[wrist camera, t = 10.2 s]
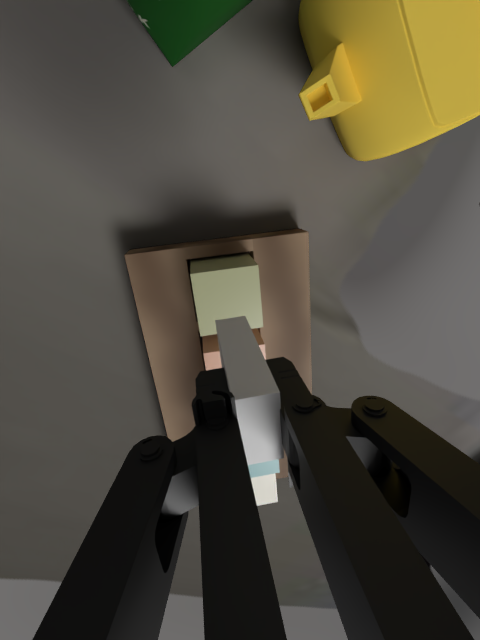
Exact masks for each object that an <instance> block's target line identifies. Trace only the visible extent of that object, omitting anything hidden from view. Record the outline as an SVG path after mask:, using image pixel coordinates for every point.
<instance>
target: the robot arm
mask: <svg viewBox="0 0 480 640" xmlns="http://www.w3.org/2000/svg"><path fill="white" fill-rule="evenodd" d="M215 323H216V330H217V337H218V344H219V351H220V358H221V365H222V368H218V369H212V370H206V371H200V373H199V374H198V376H197V377H196V397H195V398H194V399H193V401H192V410H193V416H194V421H195V427H194V428H193V430H192V431H191V432H190V433H188V434H187V435H186V436H184V437H182V438H180V439H178V440H175V441H173V442H172V441H171V439H169V438H167V437H166V436H151V437H148V438H146V439H143V440H141V441H140V442H138V443H137V444H136V445H134V446H133V448H132V449H131V450H130V452H129V453H128V455H127V457H126V459H125V461H124V463H123V465H122V467H121V469H120V471H119V473H118V475H117V477H116V479H115V481H114V482H113V484H112V486H111V488H110V490H109V492H108V494H107V496H106V498H105V500H104V502H103V504H102V506H101V508H100V510H99V512H98V514H97V515H96V517H95V519H94V521H93V523H92V525H91V527H90V529H89V531H88V533H87V535H86V537H85V539H84V541H83V543H82V545H81V547H80V548H79V550H78V552H77V554H76V556H75V558H74V560H73V562H72V564H71V566H70V568H69V570H68V572H67V574H66V576H65V578H64V580H63V581H62V583H61V586H60V587H59V589H58V591H57V593H56V595H55V597H54V599H53V601H52V603H51V605H50V607H49V609H48V611H47V613H46V615H45V616H44V618H43V621H42V622H41V624H40V627H39V628H38V630H37V632H36V634H35V636H34V638H33V640H158V637H159V633H160V628H161V624H162V620H163V616H164V612H165V608H166V604H167V600H168V596H169V592H170V588H171V583H172V579H173V575H174V571H175V567H176V563H177V559H178V555H179V551H180V547H181V543H182V538H183V534H184V530H185V526H186V522H187V518H188V510H190V509H192V508H194V507H196V506H198V505H199V517H200V541H201V565H202V588H203V609H204V610H203V612H204V635H205V640H287V638H286V634H285V630H284V625H283V620H282V616H281V612H280V607H279V602H278V598H277V594H276V589H275V585H274V580H273V576H272V571H271V567H270V562H269V558H268V553H267V549H266V544H265V540H264V535H263V531H262V526H261V522H260V518H259V513H258V509H257V504H256V500H255V495H254V491H253V486H252V482H251V477H250V473H249V468H248V465H252V464H257V463H262V462H267V461H272V460H277V459H282V458H284V450H285V453H286V456H287V461H288V478H289V488H290V487H293V485H294V488H295V491H296V494H297V497H298V499H299V502H300V505H301V508H302V511H303V514H304V516H305V519H306V522H307V525H308V528H309V530H310V533H311V536H312V539H313V542H314V545H315V547H316V550H317V553H318V556H319V559H320V561H321V564H322V567H323V570H324V573H325V576H326V578H327V581H328V584H329V587H330V590H331V593H332V595H333V598H334V601H335V604H336V607H337V609H338V612H339V615H340V618H341V621H342V624H343V626H344V629H345V632H346V635H347V638H348V640H474V639H473V637H472V635H471V634H470V632H469V631H468V629H467V628H466V626H465V625H464V623H463V621H462V620H461V618H460V616H459V615H458V613H457V612H456V610H455V609H454V607H453V605H452V604H451V602H450V601H449V599H448V598H447V596H446V594H445V593H444V591H443V590H442V588H441V586H440V585H439V583H438V582H437V580H436V578H435V577H434V575H433V574H432V572H431V571H430V569H429V567H428V566H427V564H426V563H425V561H424V559H423V558H422V556H421V555H420V553H421V554H422V555H423V557H424V558H425V559H426V560H427V561H428V562H429V563H430V564H431V565H432V567H433V568H434V569H435V570H436V571H437V572H438V573H439V574H440V575H441V577H442V578H444V580H445V581H446V582H447V583H448V584H449V585H450V586H451V588H452V589H453V590H454V591H455V592H456V593H457V594H458V595H459V596H460V598H461V599H462V600H463V601H464V602H465V603H466V604H467V605H468V606H469V607H470V609H471V610H472V611H473V612H474V613H475V614H476V615H477V616H478V617H479V619H480V464H478V463H477V462H476V461H474V460H473V459H471V458H470V457H468V456H467V455H466V454H464V453H463V452H461V451H460V450H458V449H457V448H456V447H454V446H453V445H451V444H450V443H448V442H447V441H446V440H444V439H443V438H441V437H440V436H438V435H437V434H436V433H434V432H433V431H431V430H430V429H429V428H427V427H426V426H424V425H423V424H421V423H420V422H419V421H417V420H416V419H414V418H413V417H411V416H410V415H409V414H407V413H406V412H404V411H403V410H401V409H400V408H399V407H397V406H396V405H394V404H393V403H392V402H390V401H388V400H386V399H384V398H381V397H377V396H363V397H359V398H357V399H356V400H354V402H353V403H352V407H351V409H350V408H334V407H329V406H326V404H325V403H324V402H323V401H322V400H321V399H320V398H318V397H316V396H314V395H312V394H311V393H310V391H309V389H308V388H307V386H306V384H305V383H304V381H303V379H302V378H301V376H300V374H299V373H298V371H297V370H296V368H295V366H294V364H293V363H292V362H291V361H290V360H288V359H287V358H285V357H278V358H272V359H266V360H265V358H264V356H263V354H262V352H261V349H260V347H259V345H258V343H257V341H256V338H255V336H254V334H253V332H252V330H251V327H250V325H249V323H248V321H247V319H246V316H240V317H234V318H227V319H220V320H215ZM292 482H293V485H292ZM418 551H419V552H420V553H419V552H418Z"/></svg>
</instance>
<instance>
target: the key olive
mask: <svg viewBox="0 0 480 640" xmlns="http://www.w3.org/2000/svg"><path fill="white" fill-rule="evenodd" d="M190 276H191V282H192V288H193V294H194V300H195V306H196V312H197V318H198V324H199V331H200V336H207V335H213V334H217V330H216V323H215V320H220V319H227V318H234V317H240V316H246V319H247V321H248V323H249V325H250V327H251V329H254V328H261V327H263V316H262V304H261V292H260V280H259V268H258V264H257V263H256V262H255V261H254V259H253V258H252V257H251V256H250V255H249V253H248V252H242V253H234V254H227V255H219V256H211V257H203V258H196V259H191V266H190Z"/></svg>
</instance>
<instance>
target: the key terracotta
mask: <svg viewBox="0 0 480 640" xmlns="http://www.w3.org/2000/svg"><path fill="white" fill-rule="evenodd" d="M251 330H252V332H253V334H254V336H255V338H256V341H257V343H258V345H259V347H260V349H261V352H262V354H263V356H264V358H265V360H266V353H265V344H264V341H263V339H262V337H261V335H260V333H259V330H258V328H254V329H251ZM202 340H203V355H204V361H205V367H206V370H212V369H218V368H222V365H221V358H220V351H219V344H218V337H217V334H213V335H207V336H202Z"/></svg>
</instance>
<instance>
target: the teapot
mask: <svg viewBox="0 0 480 640" xmlns="http://www.w3.org/2000/svg"><path fill="white" fill-rule="evenodd" d="M298 21H299V28H300V33H301V36H302V39H303V43H304V46H305V49H306V52H307V55H308V58H309V61H310V64H311V67H312V72H311V74H310V76H309V77H308V79H307V81H306V83H305V84H304V86H303V88H302V90H301V91H300V93H299V97H300V100H301V102H302V105H303V107H304V109H305V112H306V114H307V116H308V119H309V121H310V120H316V119H321V118H327V117H330V118H331V121H332V123H333V125H334V128H335V130H336V133H337V135H338V137H339V140H340V142H341V144H342V146H343V148H344V150H345V151H346V153H347V154H348V155H349V156H350V157H352V158H354V159H355V160H359V161H369V160H374V159H378V158H382V157H386V156H389V155H392V154H395V153H398V152H400V151H403V150H405V149H408V148H411V147H413V146H416V145H418V144H420V143H423V142H425V141H427V140H429V139H432V138H434V137H436V136H438V135H440V134H442V133H445V132H447V131H449V130H451V129H453V128H455V127H457V126H459V125H461V124H463V123H465V122H467V121H469V120H471V119H473V118H475V117H477V116H478V115H480V0H301V2H300V8H299V17H298Z"/></svg>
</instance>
